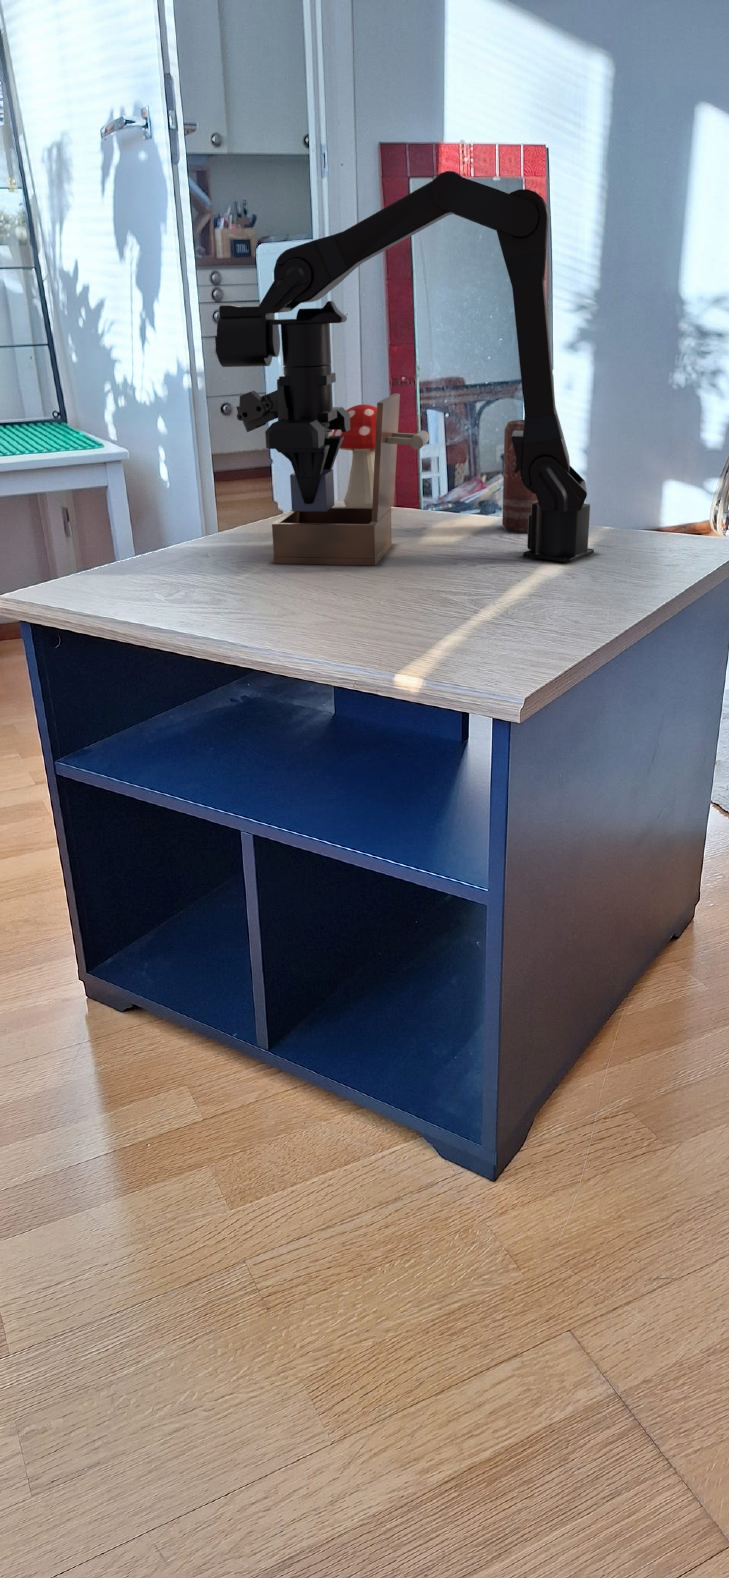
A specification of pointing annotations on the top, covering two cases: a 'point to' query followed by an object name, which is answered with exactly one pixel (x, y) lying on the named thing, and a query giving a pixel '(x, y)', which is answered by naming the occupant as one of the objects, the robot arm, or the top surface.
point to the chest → (331, 537)
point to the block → (323, 495)
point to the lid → (389, 453)
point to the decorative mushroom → (360, 454)
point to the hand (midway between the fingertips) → (313, 500)
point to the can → (515, 487)
